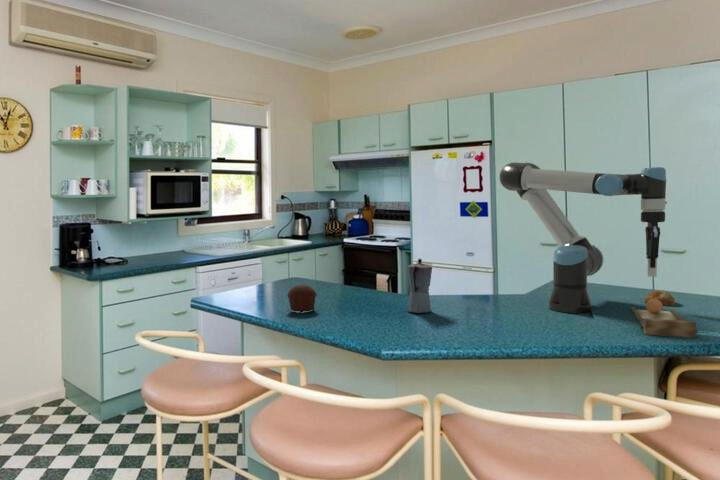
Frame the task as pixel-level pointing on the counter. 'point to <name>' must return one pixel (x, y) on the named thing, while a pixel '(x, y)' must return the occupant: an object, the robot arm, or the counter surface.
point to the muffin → (302, 298)
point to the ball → (654, 306)
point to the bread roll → (661, 297)
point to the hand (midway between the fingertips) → (651, 276)
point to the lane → (664, 323)
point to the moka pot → (419, 287)
